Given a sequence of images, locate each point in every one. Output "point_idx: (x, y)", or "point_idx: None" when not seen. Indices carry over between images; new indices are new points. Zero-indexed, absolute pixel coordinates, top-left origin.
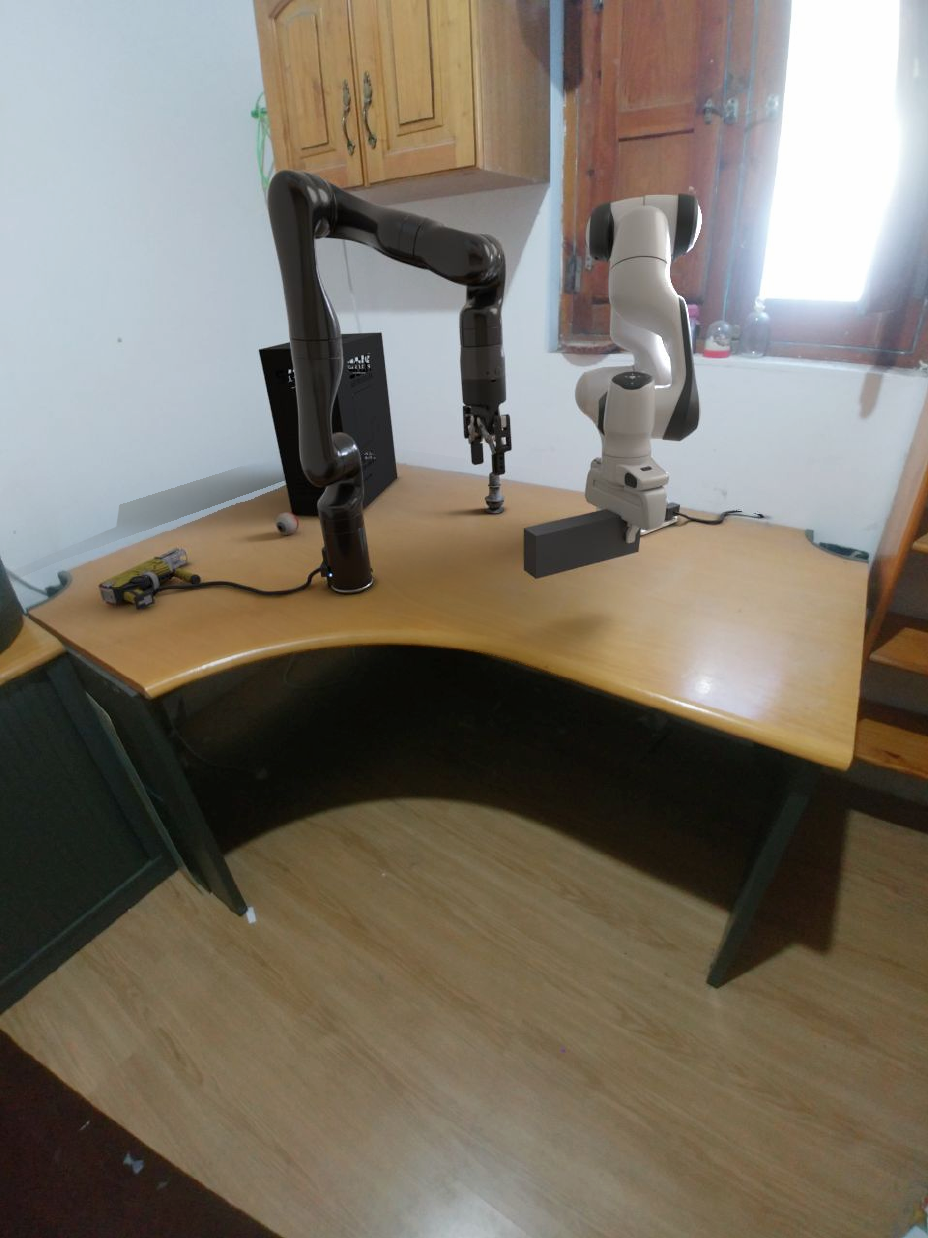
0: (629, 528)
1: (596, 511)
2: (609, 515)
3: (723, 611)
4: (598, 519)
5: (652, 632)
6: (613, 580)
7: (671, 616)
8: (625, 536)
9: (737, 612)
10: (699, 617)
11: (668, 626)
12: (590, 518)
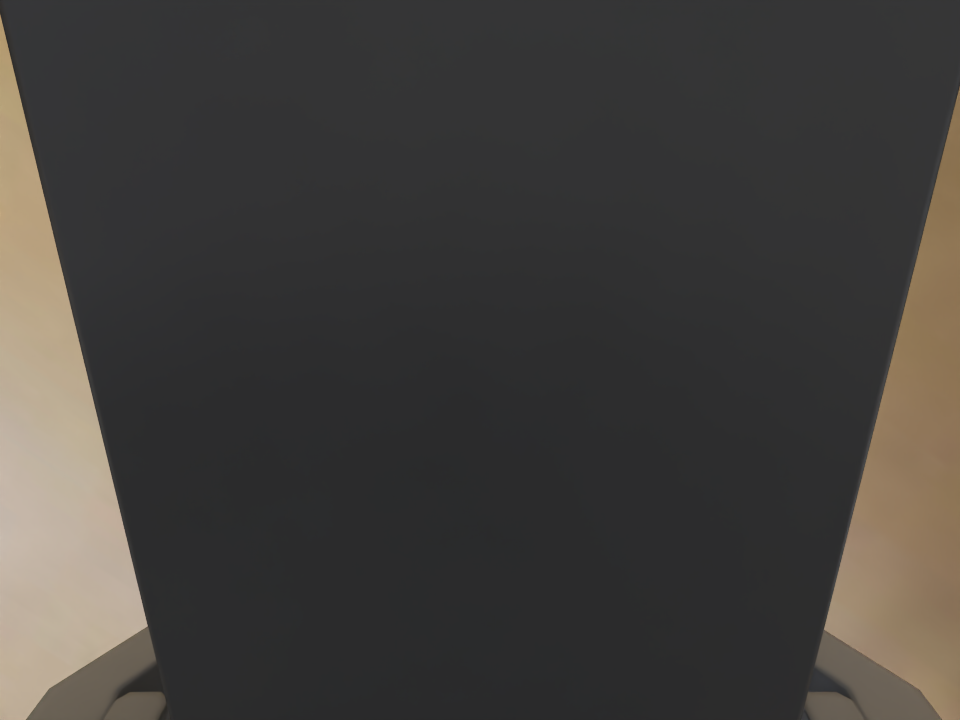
0: (116, 674)
1: (824, 566)
2: (351, 658)
3: (115, 624)
4: (189, 222)
5: (28, 237)
6: None
7: None
8: None
9: (89, 659)
10: (99, 517)
11: (63, 347)
12: (410, 9)
